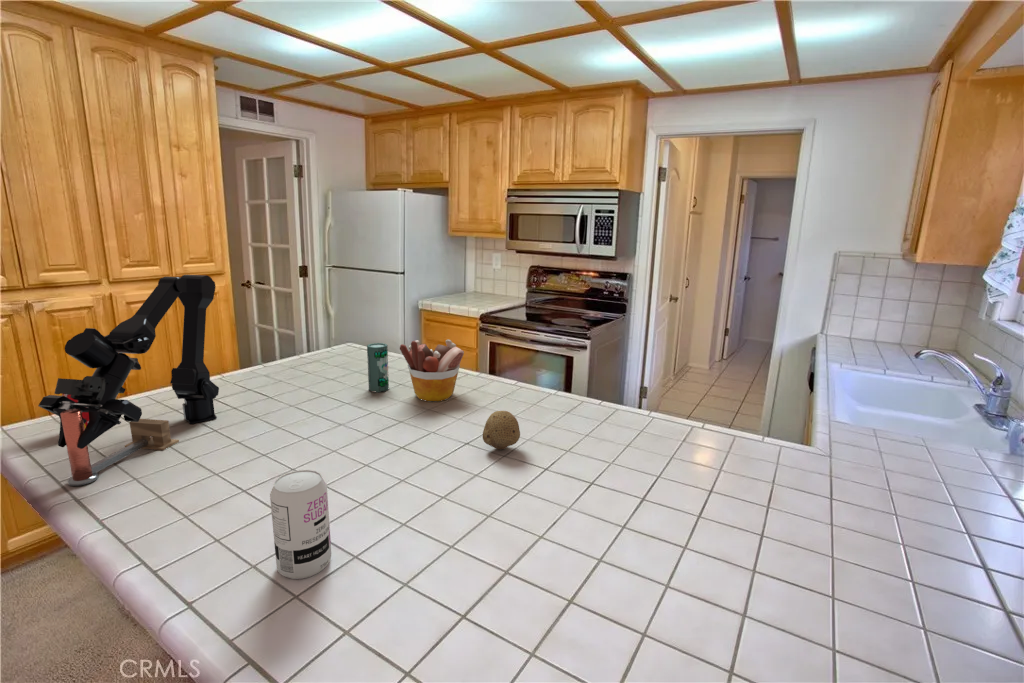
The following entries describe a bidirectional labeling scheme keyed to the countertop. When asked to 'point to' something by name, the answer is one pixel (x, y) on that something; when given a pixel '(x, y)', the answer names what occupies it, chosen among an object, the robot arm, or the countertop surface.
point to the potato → (501, 430)
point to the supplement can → (301, 524)
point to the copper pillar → (80, 457)
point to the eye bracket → (152, 433)
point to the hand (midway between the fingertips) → (70, 447)
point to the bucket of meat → (433, 369)
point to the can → (378, 367)
